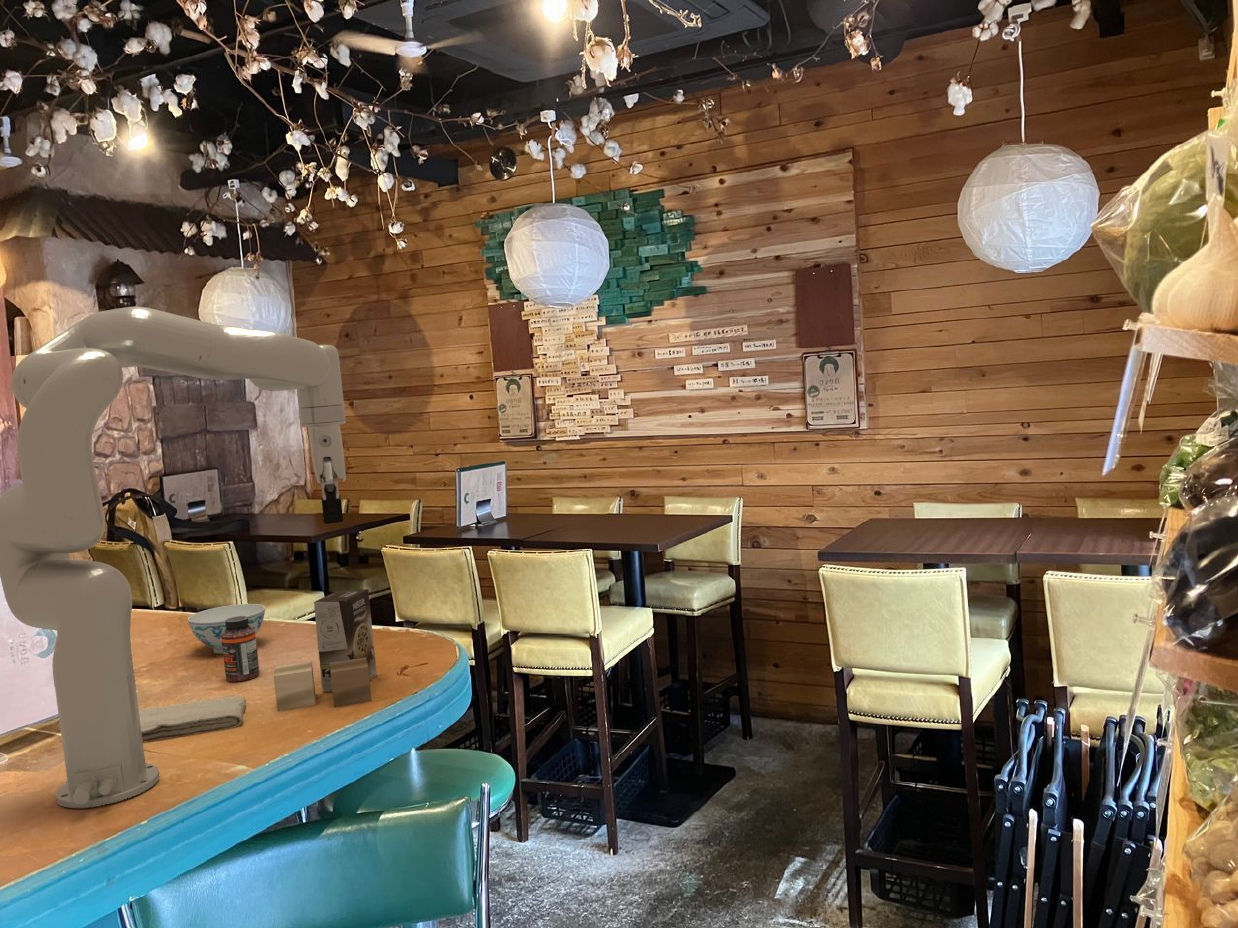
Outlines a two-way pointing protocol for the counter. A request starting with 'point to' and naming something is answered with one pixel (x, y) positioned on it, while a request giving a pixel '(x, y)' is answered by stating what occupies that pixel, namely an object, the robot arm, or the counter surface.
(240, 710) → the washcloth
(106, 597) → the robot arm
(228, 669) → the supplement bottle
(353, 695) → the walnut cube
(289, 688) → the beech cube
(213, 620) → the chinaware
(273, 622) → the counter surface
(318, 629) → the coffee box
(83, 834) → the counter surface
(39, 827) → the counter surface
